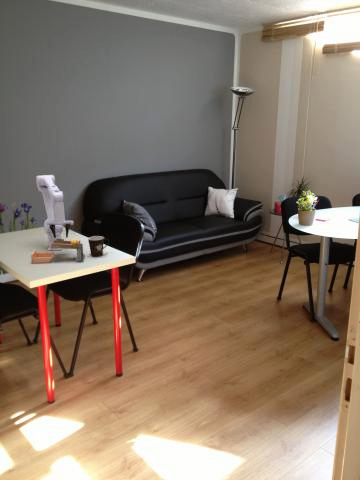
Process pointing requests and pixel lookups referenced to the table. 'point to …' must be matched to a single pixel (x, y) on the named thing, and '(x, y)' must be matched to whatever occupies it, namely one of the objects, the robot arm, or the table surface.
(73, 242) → the ball
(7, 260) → the table surface
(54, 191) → the robot arm
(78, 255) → the pivot stand
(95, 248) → the coffee mug
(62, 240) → the tipping chute
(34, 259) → the tray
